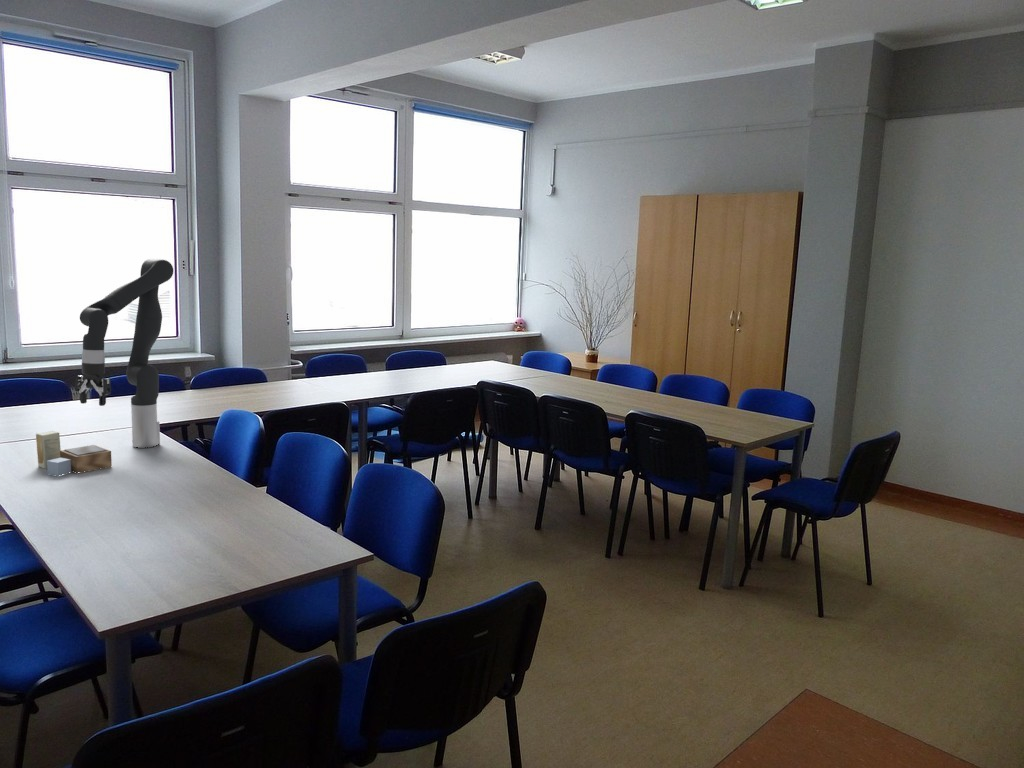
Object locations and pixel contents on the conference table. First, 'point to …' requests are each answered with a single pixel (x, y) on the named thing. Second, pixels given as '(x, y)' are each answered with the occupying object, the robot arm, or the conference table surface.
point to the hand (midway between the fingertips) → (92, 404)
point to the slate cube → (58, 466)
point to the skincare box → (47, 447)
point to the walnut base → (87, 458)
